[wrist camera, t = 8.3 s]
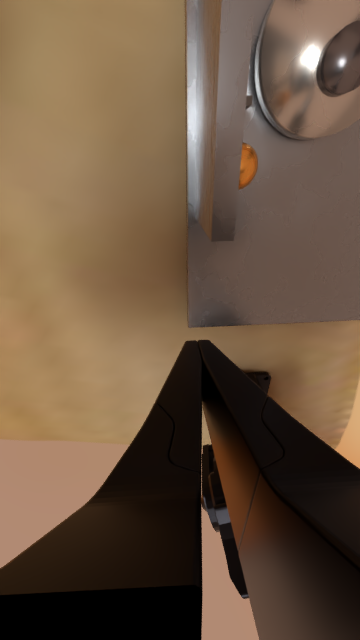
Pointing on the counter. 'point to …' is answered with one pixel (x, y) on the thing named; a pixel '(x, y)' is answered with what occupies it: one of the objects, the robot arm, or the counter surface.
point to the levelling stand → (261, 190)
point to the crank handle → (309, 66)
